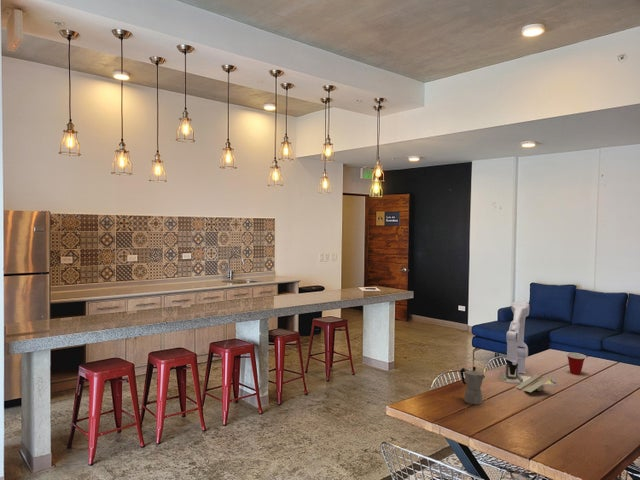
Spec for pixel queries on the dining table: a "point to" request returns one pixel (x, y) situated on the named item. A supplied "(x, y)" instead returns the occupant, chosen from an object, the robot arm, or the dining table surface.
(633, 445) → the dining table surface
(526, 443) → the dining table surface
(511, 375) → the picture frame
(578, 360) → the plastic cup
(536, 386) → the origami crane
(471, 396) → the coffeepot
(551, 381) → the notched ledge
